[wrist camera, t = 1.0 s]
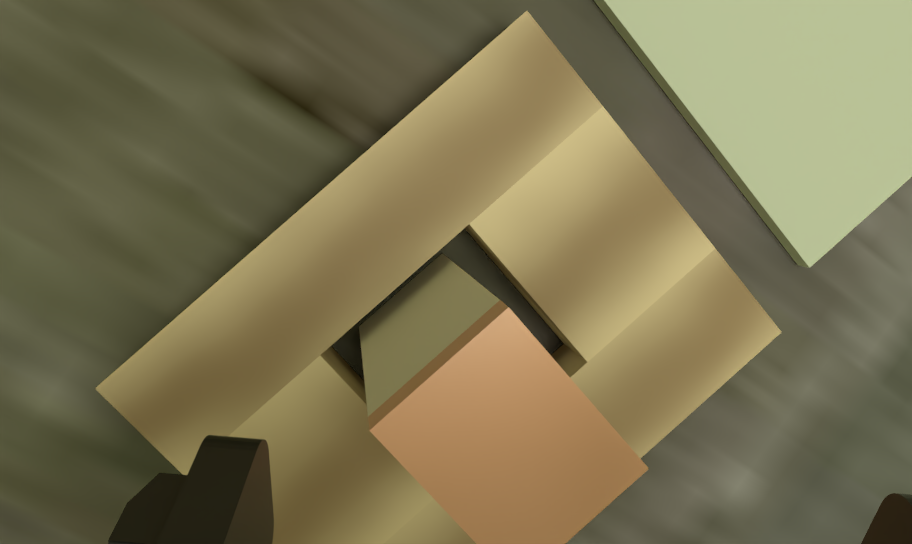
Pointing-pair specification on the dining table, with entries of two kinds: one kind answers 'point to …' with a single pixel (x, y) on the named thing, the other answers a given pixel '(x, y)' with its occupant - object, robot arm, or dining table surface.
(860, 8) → the mat
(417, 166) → the wooden peg board
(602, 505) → the plug
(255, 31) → the dining table surface
